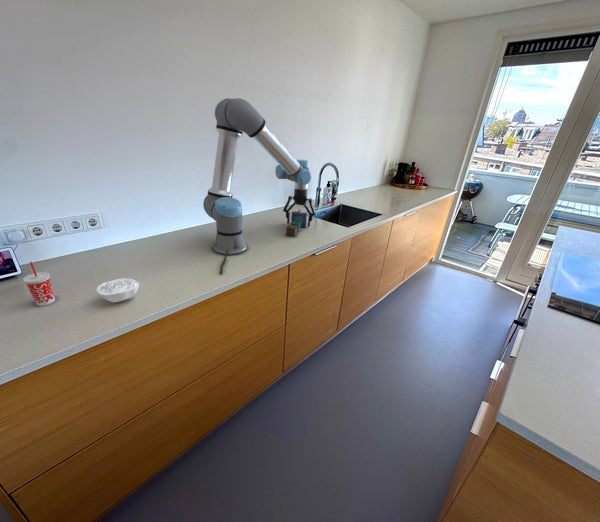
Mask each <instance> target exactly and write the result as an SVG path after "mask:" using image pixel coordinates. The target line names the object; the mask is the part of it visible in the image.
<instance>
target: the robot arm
mask: <svg viewBox="0 0 600 522" xmlns="http://www.w3.org/2000/svg"><path fill="white" fill-rule="evenodd" d="M214 118H215V120H216V125H215V130H216V132H218V138H217V146H216V153H215V160H214V169H213V177H212V183H211V187H210V188H208V189H207V194H206V196H205V197H204V199H203V203H202V205H203V210H204V212H205V213H206V215H208V217H210V218H211V219H213V220H214V221H215V224H216V225H215V226H216V236H215V239H214V243H213V251H214V252H215V253H216V254H219V255H224V258H223V261H222V264H221V266H220V271H219V274H220V275H222V274H223V269H224V265H225V263H226V260H227V256H234V255H239V254H243V253H245V252H246V251H247V248H248V247H247V245H248V244H247V242H246V239H245V235H244V234H243V205H242V202H241V201H240V200H239V199H238V198H235V197H234V198H233V196H234V194H233V193H232V191H231V187H232V181H233V175H234V169H235V162H236V156H237V149H238V142H239V139H240V138H241V137H243V133H244V134H245V135H247V136H248V137H249V138H250V139H254V140H255V141H256V142H257V143H258V144H259V146H261V148H263V149H264V151H265V152H267V154H268V155H269V156H270V157H271V158H272V159H273V160H274V161H275V162H276V163H277V165H276V167H275V176H276V178H277V179H278V180H288V181H291V182H294V189H293V196H292V195H289V196H288V198H287V201H286V204H285V205H284V207H283V209H282V211H283V212H285V218H286V224H287V225H290V223H291V212H290V211H291V210H292V209H293V207H295V205H296V206H303V207H304V208H305V210H306V213H307V214H308V217H307V218H308V219H307V228H310V226H311V222H312V221H313V217H315V216H316V214H317V213H316V209H315V206H314V203H313V198H312V197H311V198H308V188H309V184H310V182H311V180H312V173H311V170H310V161H309V160H307V159H296V158H295V157H294V156H293V154H292V152H290V151H289V150H288V148H286V146H285V145H284V144H283V143H282V141H280V139H279V138H278V137H277V136H276V134H274V132H273V131H272V130H271V128H269V127H268V126H267V121H266V120H265V118H264V117H263V116H262V115H261V113H260V112H259V111H258V110H257V109H256V108H255V106H253V105H252V104H251V103H250V102H249V101H247V100H245V99H244V98H239V97H236V98H231V97H230V98H224V99H221V100H220V101H219V102H218V103H217V104H216V105H215V108H214ZM292 200H293V203H292V204H291V205H290V203H291V201H292ZM307 202H308V203H307ZM308 204H309V206H308ZM289 205H290V206H289Z"/></svg>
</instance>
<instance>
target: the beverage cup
mask: <svg viewBox="0 0 600 522" xmlns="http://www.w3.org/2000/svg"><path fill="white" fill-rule="evenodd" d="M29 264H30V267H31V269H32V271H33V273H31V274H28V275H26V276H24V277H23V279H22V282H24V284H26V286H27V289H28V290H29V293H30V295H31V296H32V298H33V301H34V302H35V304H36V305H37V306H39V307H41V306H47V305H51V304H52V303H54V302H55V301H56V297H55V294H54V289H53V287H52V282H51V279H50V277H51V275H50V273H49V272H45V271H41V272H36V269H35V266H34V264H33V262H32V261H30V262H29Z"/></svg>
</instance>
